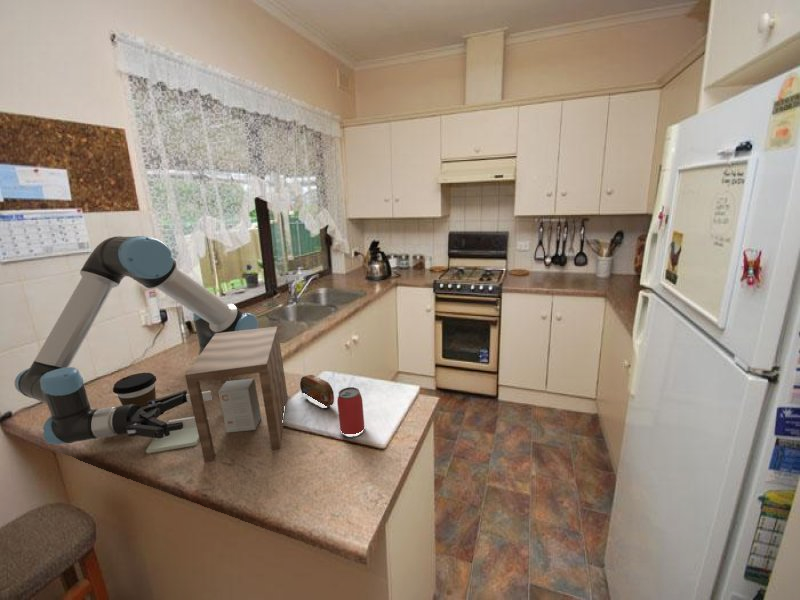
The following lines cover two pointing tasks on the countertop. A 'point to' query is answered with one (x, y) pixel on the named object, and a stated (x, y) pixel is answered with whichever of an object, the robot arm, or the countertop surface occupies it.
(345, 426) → the beer can
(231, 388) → the small box
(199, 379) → the wooden step stool
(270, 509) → the countertop surface
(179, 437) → the pad
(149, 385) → the coffee cup
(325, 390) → the brown rounded flat block
